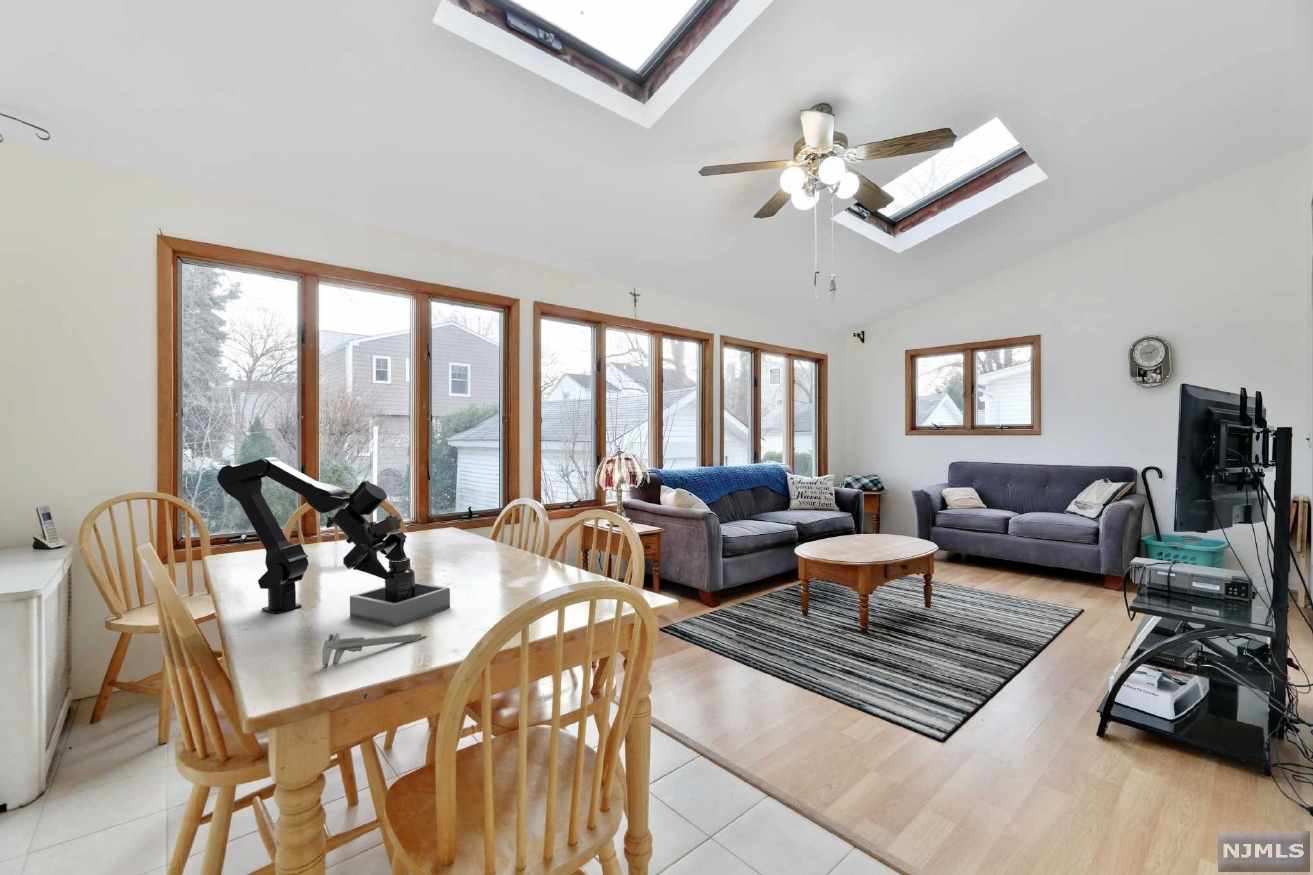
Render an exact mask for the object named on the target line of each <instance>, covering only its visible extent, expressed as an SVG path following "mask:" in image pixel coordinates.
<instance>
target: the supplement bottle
mask: <svg viewBox="0 0 1313 875" xmlns="http://www.w3.org/2000/svg"><path fill="white" fill-rule="evenodd" d="M409 566H411V558H410V557H407V558H395V559H391V560H389V559H388V569H389V570H387V572H388V573H389V575H390V578H389V579H388V580H385V579H384V586H385V601H387V602H392V603H398V602H401V601H405V600H408V599H411V598H414V597H415V582H416V575H415V574H416V573H415V571H414V569H413V568H412V567H411V568H409Z"/></svg>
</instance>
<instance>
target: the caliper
mask: <svg viewBox="0 0 1313 875" xmlns="http://www.w3.org/2000/svg"><path fill="white" fill-rule="evenodd" d="M425 638H427V635H425V634H422V633H421V632H415V633H414V632H411V633H402V634H392V635H384V636H383V635H382V636H381V635H380V636H373V637H372V636H371V637H364V636H361V635H359V636H349V637H346V636H345V637H340V633H338V632H336V633H335V634H334V635H333V634H332V633H329V637H328V639H325V641H324V644H323V648H322V666H323V667H325V668H328V666H329V662H330V658H331V655H332V651H335V652H334V655H333V662H332V665H334V666H336V665H338V664H339V662H340V660H341V659H342V657H343V654H344V652H346V651H348V652H353V653H354V652H361V651H362V650H363V648H364V647H372V646H382V645H390V644H400V643H401V644H402V643H408V642H416V641H420V640H421V639H425ZM419 639H420V640H419ZM415 640H416V641H415Z"/></svg>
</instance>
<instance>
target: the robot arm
mask: <svg viewBox="0 0 1313 875" xmlns="http://www.w3.org/2000/svg"><path fill="white" fill-rule="evenodd" d="M266 477H268V478H269V479H271V480H273V481H274V482H276V483H278V484H280V485H282V486H283V487H285V488H287V489H289V490H291V491H292V492H295V493H296V494H298V495H300V496H302V497H303V498H304V499H305V502H306V503H307V505H309V506H310V508H312V509H314V510H315V512H318V513H320V514H328V513H332V512H335V511H337V512H335V513H334V515H331V516H327V522H326V525H325V527H326V529H329V528H333V527H337V528H339V529H340V530H341V531H342V532H343V534H344V535H345V536H346V537H347V539H346V540H345V542H346V543H347V544H353V545H354V547H352V549H350V551H349V552H348V553H346V554H345V556H344V557H343V559H342V560H343V565H344V566H345V567H346V568H347V569H348V570H351V569H353V571H360V572H363V573H366V574H369V575H372V576H375V577H376V578H380V579H383V580H384V581H385V580H388V579H389V578H390V575H389V573H388V570H387V569H386V568H385V567H384V565H383V564H382V562H381V561H380V560H379V559H378V552H380V553H381V555H385V556H384V558H386V559H387V560H388V561H389V560H391V559H395V558H408V557H407V554H406V551H405V549H404V548H405V547H404V546H405V543H406V542H407V541H406V540H407V538H408V537H407V535H406V534H405V533H404V532H403V531H395V530H399V529H400V528H402V527H401V522H402V518H400V517H399V516H398V515H396V514H395V513H393V514H392V513H391V514H389V515H387V516H385V519H383V520H380V521H378V522H376V521H369V520H368V519H367V518H366V517H365V515H366V516H370V515H372V514H373V513H374V512H375V511H376V510H377V509H378V508H379V507H380V505H382V503H383V502H384V501H385V500H387V498H388V495H387V493H386V491H385V490H384V489H383V488H382V487H379V486H378V485H377V484H374V483H371V482H370V481H369V480H362V482H361V483H360V484H359V485H358V487H357V488H356V489H355V490H354V491H353V492H347V491H346V489H344V488H342V487H339V486H336V485H334V484H331V483H326V482H325V483H324V482H320V481H319V480H318V481H317V480H315V479H313V478H312V477H310V476H308V475H306V474H305V473H302V472H300V471H299V470H297V469H295V468H293V467H292V466H289V465H288V464H286V463H284V462H282V461H281V460H280V458H277V457H264V458H263V457H262V458H259V459H257V460H254V461H250V462H246V463H242V464H230V465H224V466H223V467H221V468H220V470H219V471H218V474H217V475H216V480H217V482H218V484H219V486H220V487H221V488H222V489H223V491H224V492H225V494H227V495H229V496H230V497H232V498H233V499H235V500H237V502H239V505H240V506H241V508H242V510H243V511H244V513H245V515H246V516H247V518H248V520H249V522H250V524H251V525H252V528H253V530H254V531H255V533H256V535H257V537H258V539H259V540H260V543H261V544H262V546H263V548H264V549H265V552H266V553H265V561H264V562H265V563H264V564H265V566H266V569H267V570H266V571H265V572H264V574H262V575H261V577H260V578H259V579H258V580H257V583H258V586H259V588H260V589H262V590H263V589H265V590H266V589H267V606H264V607H261V611H264V612H268V613H271V614H280V613H283V612H287V611H290V610H294V609H298V608H301V607H303V604H300V603H297V593H296V592H297V590H296V582H299V581H302V580H303V577H304V574H305V573H306V571H307V569H308V566H309V560H308V558H309V555H308V554H306V551H305V550H304V548H303V545H302V544H301V543H300V542H299V543H295V544H293V543H291V542H290V541H289V540H288V539H287V537H286V535H285V533H284V531H283V530H282V528H281V526H280V525H279V523H278V521H277V519H276V517H275V515H274V514H273V512H272V510H271V508H270V506H269V505H268V502H267V501H266V499H265V497H264V496H263V494H262V486H263V481H262V479H264V478H266ZM393 531H395V532H393ZM391 532H392V533H391ZM389 533H390V534H389ZM409 568H411V569H412V565H410V566H409Z"/></svg>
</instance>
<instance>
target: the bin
mask: <svg viewBox="0 0 1313 875" xmlns="http://www.w3.org/2000/svg"><path fill="white" fill-rule="evenodd" d="M450 608H451V589H450V587H447V586H442V585H441V586H440V585H435V584H430V583H425V582H420V581H415V597H414V598H411V599H408V600H405V601H401V602H398V603H392V602H387V601H385V585H384V586H381V587H378V588H374V589H370V590H367V591H363V592H360V593H356V594H353V595H350V596H349V617H350V618H354V619H357V620H363V621H367V622H371V623H374V622H375V624H380V625H382V624H383V626H387V627H392V628H396V627H399V626H402V624H403V625H405V624H409V623H410V622H413V620H414V621H417V620H419V619H423V618H425V617H428V616H430V615H434V614H436V613H439V612H441V611H444V610H447V609H450Z"/></svg>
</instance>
